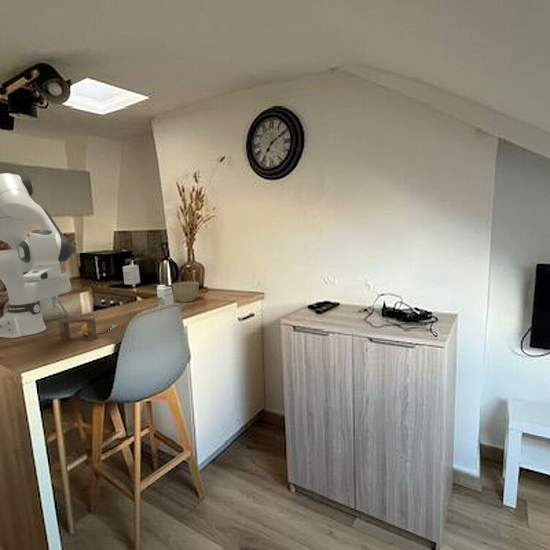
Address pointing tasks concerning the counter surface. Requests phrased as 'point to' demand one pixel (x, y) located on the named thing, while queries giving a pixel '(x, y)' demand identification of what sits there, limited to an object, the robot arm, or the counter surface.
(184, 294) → the planter bowl
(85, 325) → the ball
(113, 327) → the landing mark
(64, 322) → the bridge
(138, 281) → the supplement box
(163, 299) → the syrup box
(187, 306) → the counter surface
